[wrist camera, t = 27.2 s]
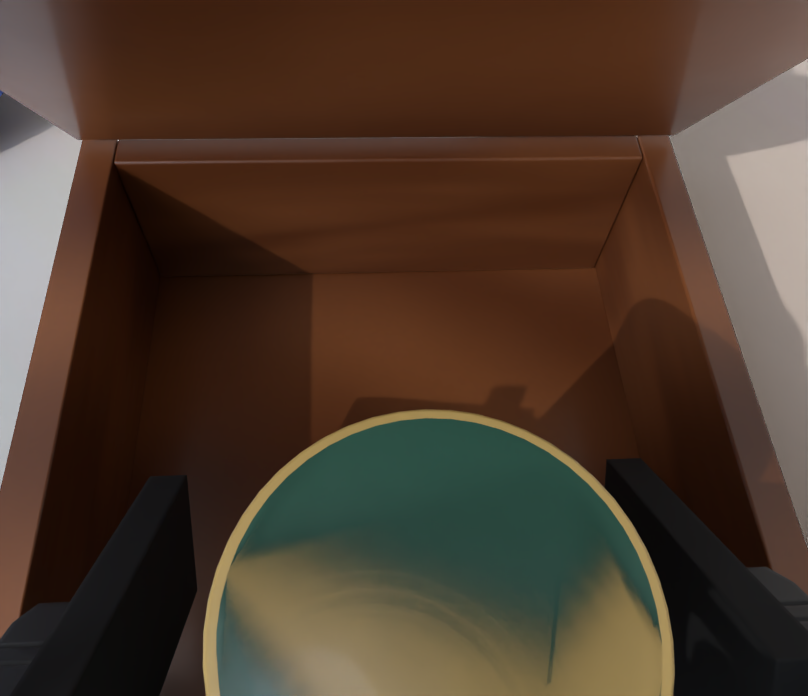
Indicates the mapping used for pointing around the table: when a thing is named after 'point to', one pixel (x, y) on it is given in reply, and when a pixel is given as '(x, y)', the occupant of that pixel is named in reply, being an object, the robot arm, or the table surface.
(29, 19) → the case lid
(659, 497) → the robot arm
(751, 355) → the table surface
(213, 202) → the case
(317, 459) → the tea tin
